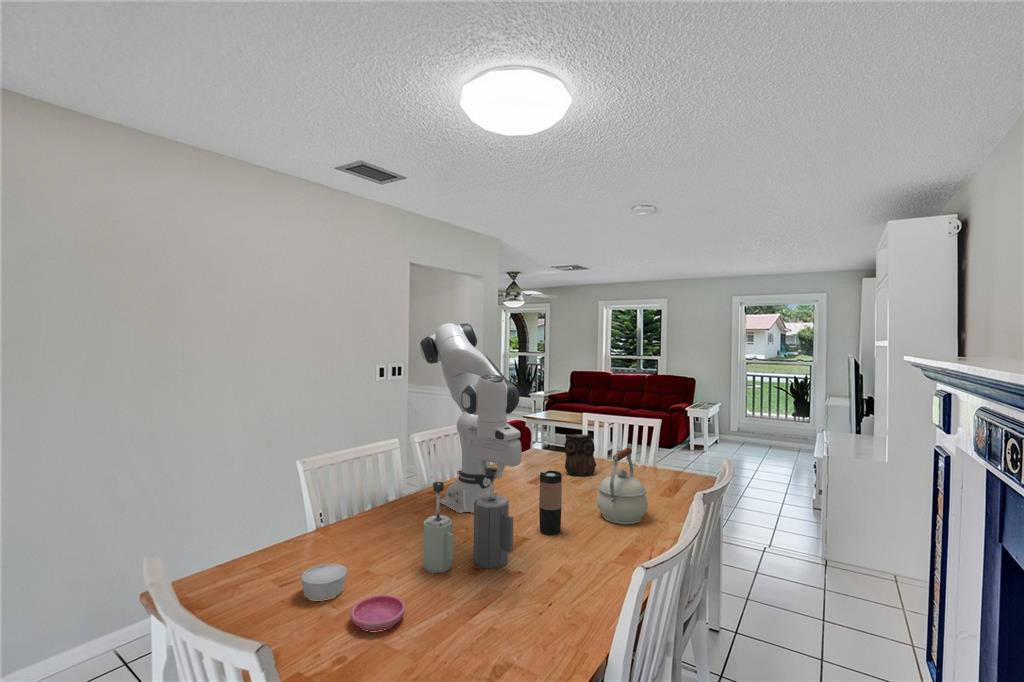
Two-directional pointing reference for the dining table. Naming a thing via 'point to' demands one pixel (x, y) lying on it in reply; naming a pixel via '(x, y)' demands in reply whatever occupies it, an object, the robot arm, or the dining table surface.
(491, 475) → the plunger
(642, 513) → the kettle
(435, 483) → the plunger small
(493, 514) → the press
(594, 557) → the dining table surface
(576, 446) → the owl
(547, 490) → the travel mug
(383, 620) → the saucer
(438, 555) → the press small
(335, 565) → the ramekin
